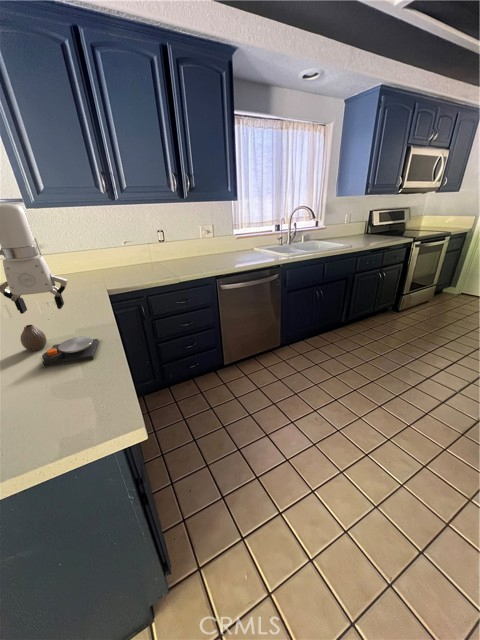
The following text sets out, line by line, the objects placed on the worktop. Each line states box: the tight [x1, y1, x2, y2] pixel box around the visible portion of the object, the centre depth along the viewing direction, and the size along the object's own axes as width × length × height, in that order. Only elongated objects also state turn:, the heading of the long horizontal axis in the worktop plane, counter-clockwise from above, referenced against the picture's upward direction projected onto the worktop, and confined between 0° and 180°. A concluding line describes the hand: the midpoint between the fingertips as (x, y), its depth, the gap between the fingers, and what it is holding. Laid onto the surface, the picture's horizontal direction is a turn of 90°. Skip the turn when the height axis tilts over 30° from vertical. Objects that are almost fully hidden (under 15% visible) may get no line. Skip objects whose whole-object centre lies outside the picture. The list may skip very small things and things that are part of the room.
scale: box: [41, 338, 99, 368], centre depth 89 cm, size 14×12×3 cm
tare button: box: [46, 347, 57, 356], centre depth 84 cm, size 3×3×2 cm
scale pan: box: [58, 336, 93, 353], centre depth 89 cm, size 10×10×1 cm
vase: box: [19, 324, 47, 352], centre depth 91 cm, size 7×7×9 cm
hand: (42, 309), depth 80 cm, fingers open, 9 cm apart
